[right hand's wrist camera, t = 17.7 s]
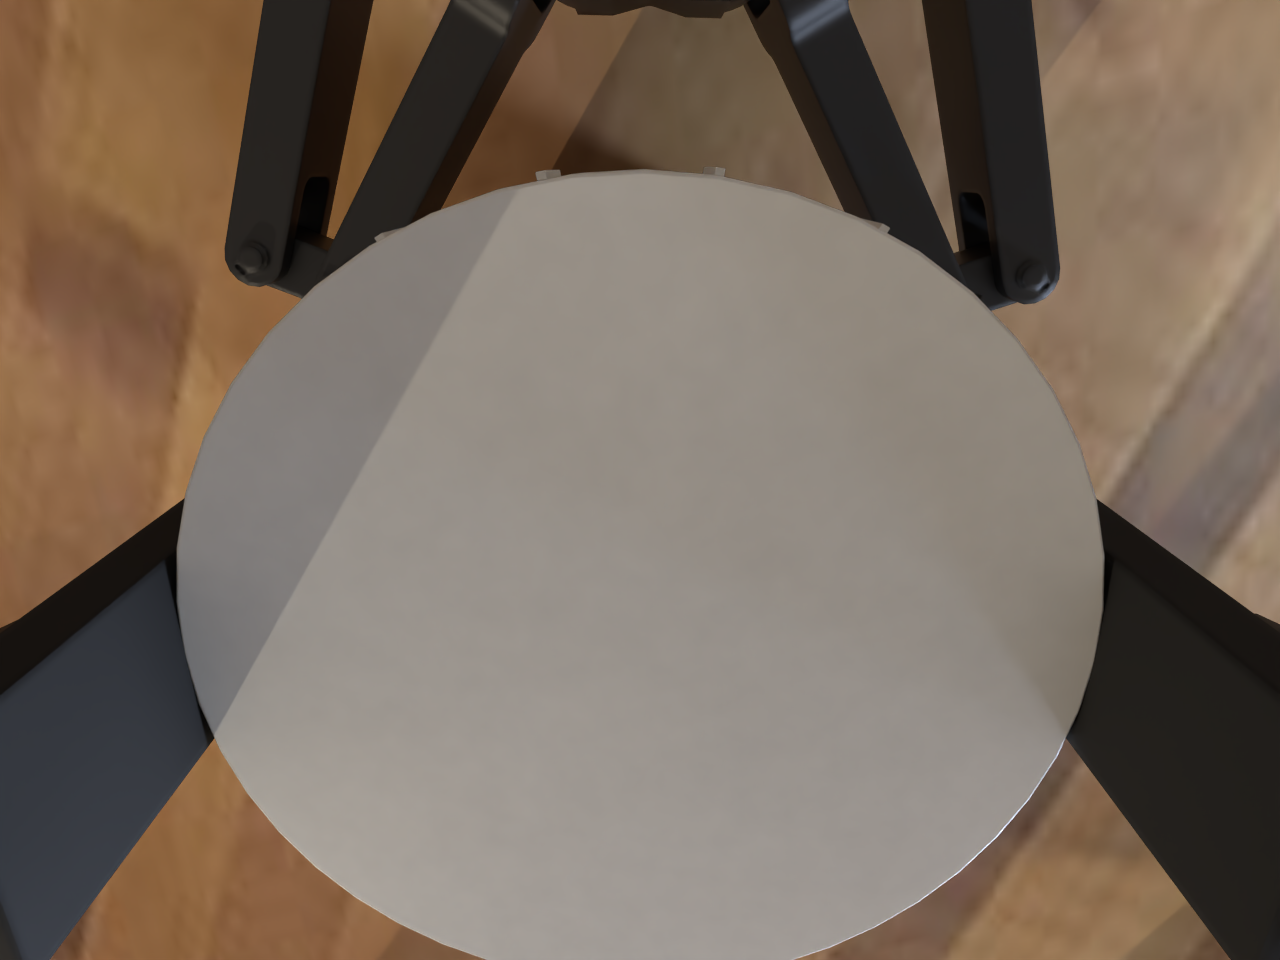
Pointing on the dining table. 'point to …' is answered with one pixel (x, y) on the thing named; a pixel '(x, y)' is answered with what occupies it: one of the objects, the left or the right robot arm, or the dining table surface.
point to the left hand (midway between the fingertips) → (636, 570)
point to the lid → (640, 572)
